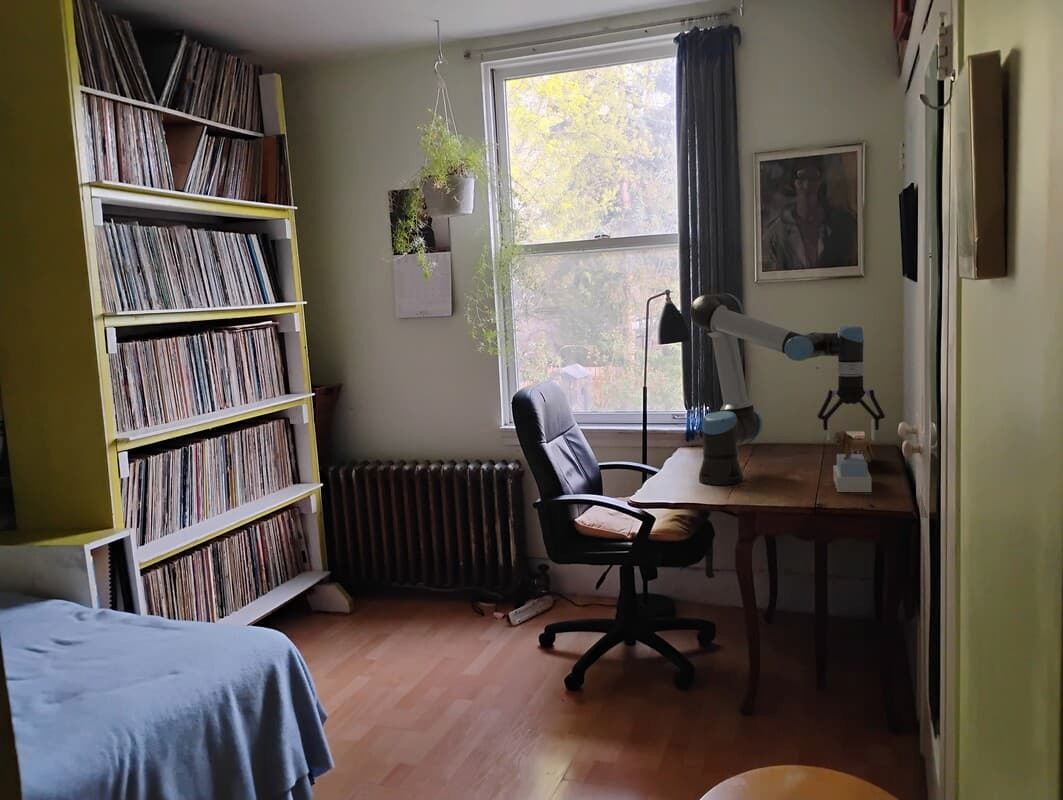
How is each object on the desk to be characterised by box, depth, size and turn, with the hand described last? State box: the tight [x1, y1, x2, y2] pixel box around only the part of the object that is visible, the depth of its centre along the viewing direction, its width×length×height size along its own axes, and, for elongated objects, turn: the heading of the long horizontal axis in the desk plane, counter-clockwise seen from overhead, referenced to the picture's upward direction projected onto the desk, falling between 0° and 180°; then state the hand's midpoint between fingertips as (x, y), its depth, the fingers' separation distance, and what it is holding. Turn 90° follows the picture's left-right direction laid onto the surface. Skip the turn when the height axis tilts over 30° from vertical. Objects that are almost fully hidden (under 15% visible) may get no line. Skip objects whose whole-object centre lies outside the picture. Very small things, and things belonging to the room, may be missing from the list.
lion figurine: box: [832, 430, 879, 463], centre depth 273 cm, size 15×5×9 cm, turn 45°
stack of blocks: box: [846, 430, 866, 458], centre depth 305 cm, size 21×6×12 cm, turn 158°
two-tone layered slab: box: [832, 453, 872, 493], centre depth 275 cm, size 10×18×9 cm, turn 164°
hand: (850, 440), depth 274 cm, fingers open, 13 cm apart
